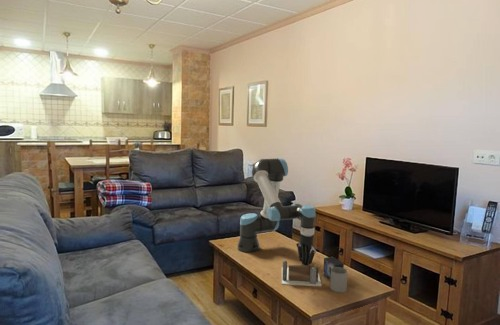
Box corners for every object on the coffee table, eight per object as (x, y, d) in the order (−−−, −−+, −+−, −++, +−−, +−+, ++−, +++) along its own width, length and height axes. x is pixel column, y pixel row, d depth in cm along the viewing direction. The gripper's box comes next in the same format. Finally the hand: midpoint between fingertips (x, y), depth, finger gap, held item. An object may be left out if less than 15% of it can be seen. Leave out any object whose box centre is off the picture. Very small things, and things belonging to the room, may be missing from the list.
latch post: (309, 283, 191) (310, 267, 190) (315, 283, 191) (315, 267, 190) (310, 285, 189) (310, 269, 187) (315, 285, 188) (316, 269, 187)
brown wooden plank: (288, 278, 194) (288, 263, 193) (318, 279, 193) (318, 264, 192) (288, 280, 192) (288, 264, 191) (318, 281, 190) (319, 266, 189)
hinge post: (282, 279, 195) (282, 260, 193) (286, 279, 194) (287, 260, 193) (282, 281, 192) (282, 262, 191) (286, 281, 192) (287, 262, 191)
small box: (322, 275, 201) (323, 257, 199) (332, 273, 203) (332, 256, 202) (333, 283, 191) (334, 264, 190) (343, 281, 194) (344, 262, 192)
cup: (336, 293, 180) (337, 274, 178) (326, 286, 187) (327, 268, 186) (349, 290, 183) (350, 272, 182) (339, 283, 191) (340, 266, 189)
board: (281, 268, 210) (281, 267, 210) (317, 269, 208) (317, 268, 208) (281, 284, 189) (281, 283, 189) (321, 286, 187) (321, 285, 187)
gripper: (293, 232, 194) (291, 272, 198) (311, 239, 185) (308, 281, 188) (302, 229, 199) (300, 268, 203) (320, 236, 190) (317, 277, 193)
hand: (304, 274), depth 196 cm, fingers closed
